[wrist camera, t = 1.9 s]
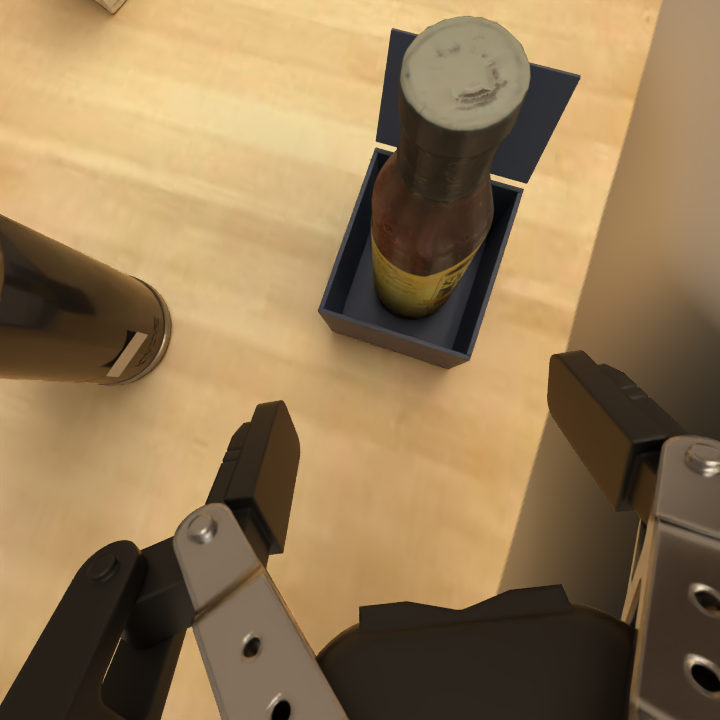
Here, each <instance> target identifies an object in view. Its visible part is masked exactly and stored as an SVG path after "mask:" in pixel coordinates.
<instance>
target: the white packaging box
mask: <svg viewBox="0 0 720 720" xmlns="http://www.w3.org/2000/svg"><path fill="white" fill-rule="evenodd" d="M95 1H96V2H98V3H99V4H100V5H102V6H103V7H104V8H105V9H107V10H108V11H109V12H110V13H115V12H116V11H117V9H118V8H119V7H120V6H121V5H122V4H123V3H124V2H125V1H126V0H95Z"/></svg>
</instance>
